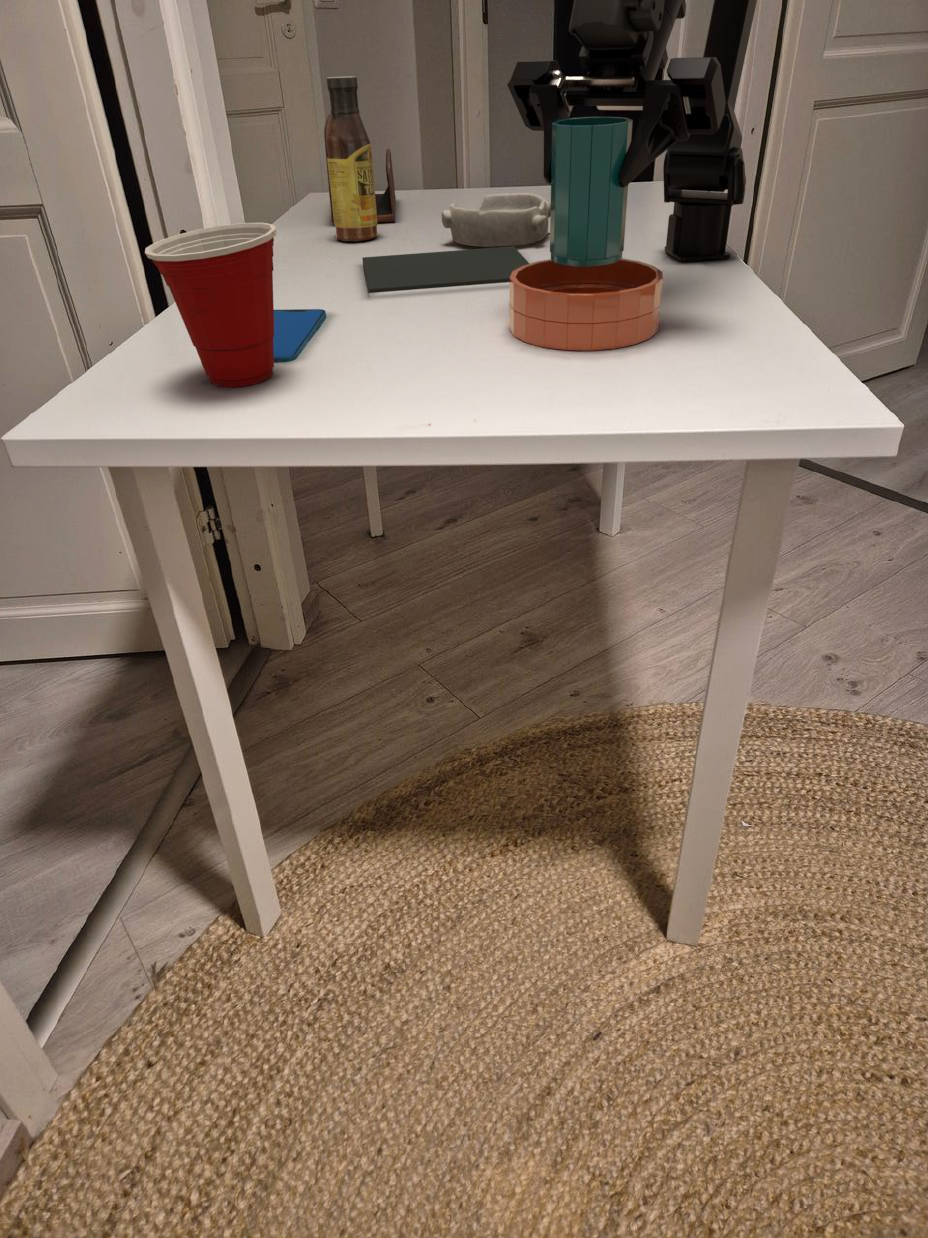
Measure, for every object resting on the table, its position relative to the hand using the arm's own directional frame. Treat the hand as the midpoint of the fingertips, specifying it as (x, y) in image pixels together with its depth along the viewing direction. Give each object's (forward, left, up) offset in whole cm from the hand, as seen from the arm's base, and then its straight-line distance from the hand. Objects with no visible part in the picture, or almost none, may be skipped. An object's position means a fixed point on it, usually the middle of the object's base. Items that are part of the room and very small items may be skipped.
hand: (582, 182), depth 72 cm
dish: (-1, -45, -14) cm, 47 cm away
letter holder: (+17, -73, -14) cm, 76 cm away
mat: (+9, -28, -13) cm, 32 cm away
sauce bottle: (+19, -53, -14) cm, 58 cm away
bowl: (-1, -1, -13) cm, 13 cm away
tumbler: (-1, -1, -6) cm, 7 cm away
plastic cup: (+32, +3, -14) cm, 35 cm away
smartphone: (+29, -8, -14) cm, 33 cm away
